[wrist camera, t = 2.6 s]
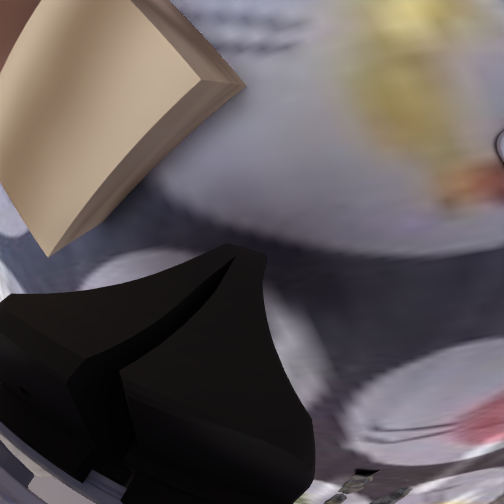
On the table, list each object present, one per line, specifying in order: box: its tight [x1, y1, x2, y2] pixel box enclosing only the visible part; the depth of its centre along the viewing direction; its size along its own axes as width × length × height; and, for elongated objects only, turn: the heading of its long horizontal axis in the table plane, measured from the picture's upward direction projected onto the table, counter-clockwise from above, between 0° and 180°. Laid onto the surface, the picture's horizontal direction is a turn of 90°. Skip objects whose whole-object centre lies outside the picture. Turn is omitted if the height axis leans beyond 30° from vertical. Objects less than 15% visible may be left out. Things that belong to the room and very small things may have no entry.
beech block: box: [0, 0, 246, 257], centre depth 10 cm, size 7×9×4 cm
